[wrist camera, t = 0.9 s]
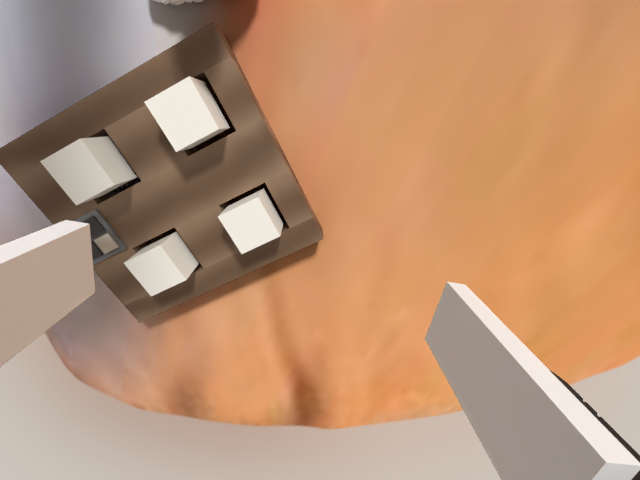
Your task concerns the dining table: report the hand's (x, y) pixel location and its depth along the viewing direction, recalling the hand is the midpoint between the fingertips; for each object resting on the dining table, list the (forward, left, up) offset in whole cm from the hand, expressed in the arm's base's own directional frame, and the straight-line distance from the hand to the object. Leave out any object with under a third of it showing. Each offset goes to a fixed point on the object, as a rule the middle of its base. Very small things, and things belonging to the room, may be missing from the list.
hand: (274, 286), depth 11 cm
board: (-4, -11, -21) cm, 24 cm away
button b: (+1, -15, -19) cm, 24 cm away
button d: (+1, -5, -19) cm, 19 cm away
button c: (-9, -5, -19) cm, 21 cm away
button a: (-9, -15, -19) cm, 25 cm away
